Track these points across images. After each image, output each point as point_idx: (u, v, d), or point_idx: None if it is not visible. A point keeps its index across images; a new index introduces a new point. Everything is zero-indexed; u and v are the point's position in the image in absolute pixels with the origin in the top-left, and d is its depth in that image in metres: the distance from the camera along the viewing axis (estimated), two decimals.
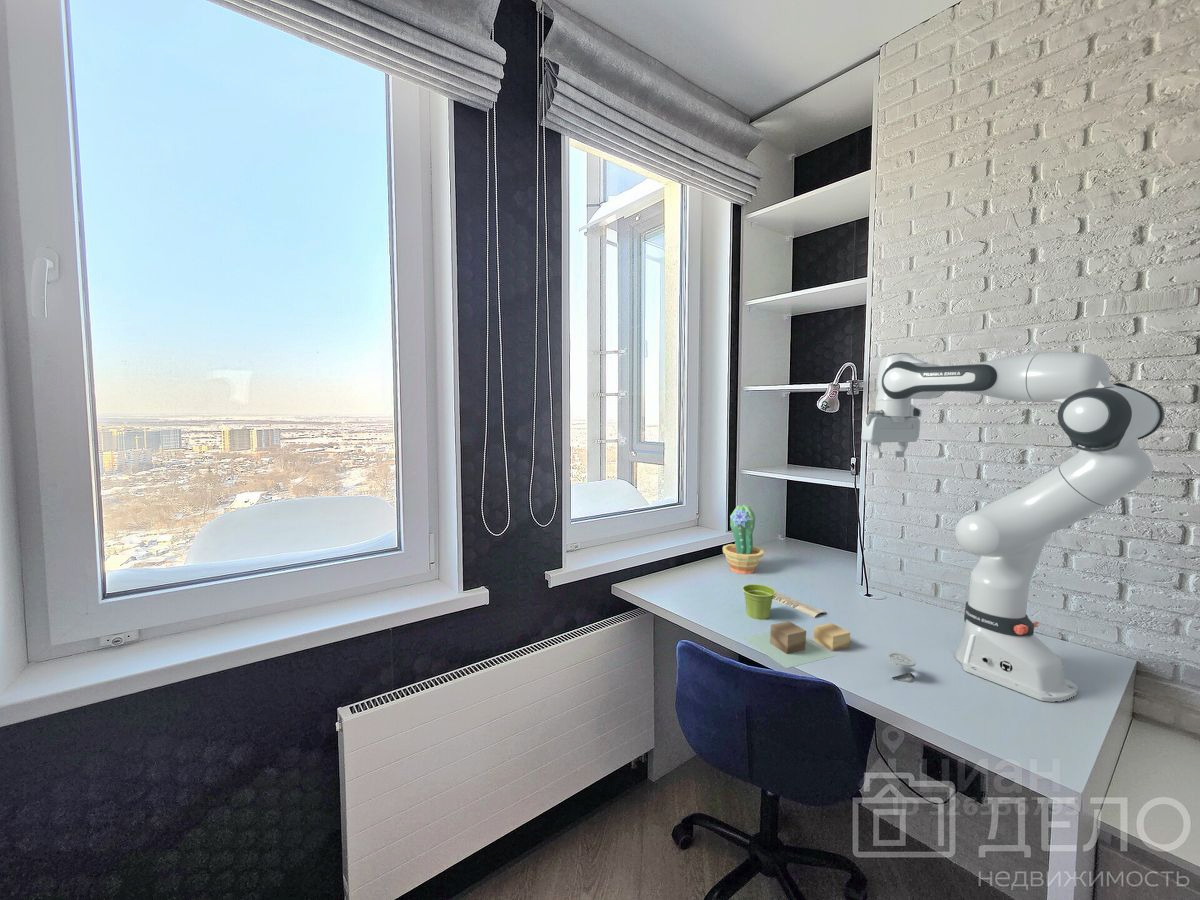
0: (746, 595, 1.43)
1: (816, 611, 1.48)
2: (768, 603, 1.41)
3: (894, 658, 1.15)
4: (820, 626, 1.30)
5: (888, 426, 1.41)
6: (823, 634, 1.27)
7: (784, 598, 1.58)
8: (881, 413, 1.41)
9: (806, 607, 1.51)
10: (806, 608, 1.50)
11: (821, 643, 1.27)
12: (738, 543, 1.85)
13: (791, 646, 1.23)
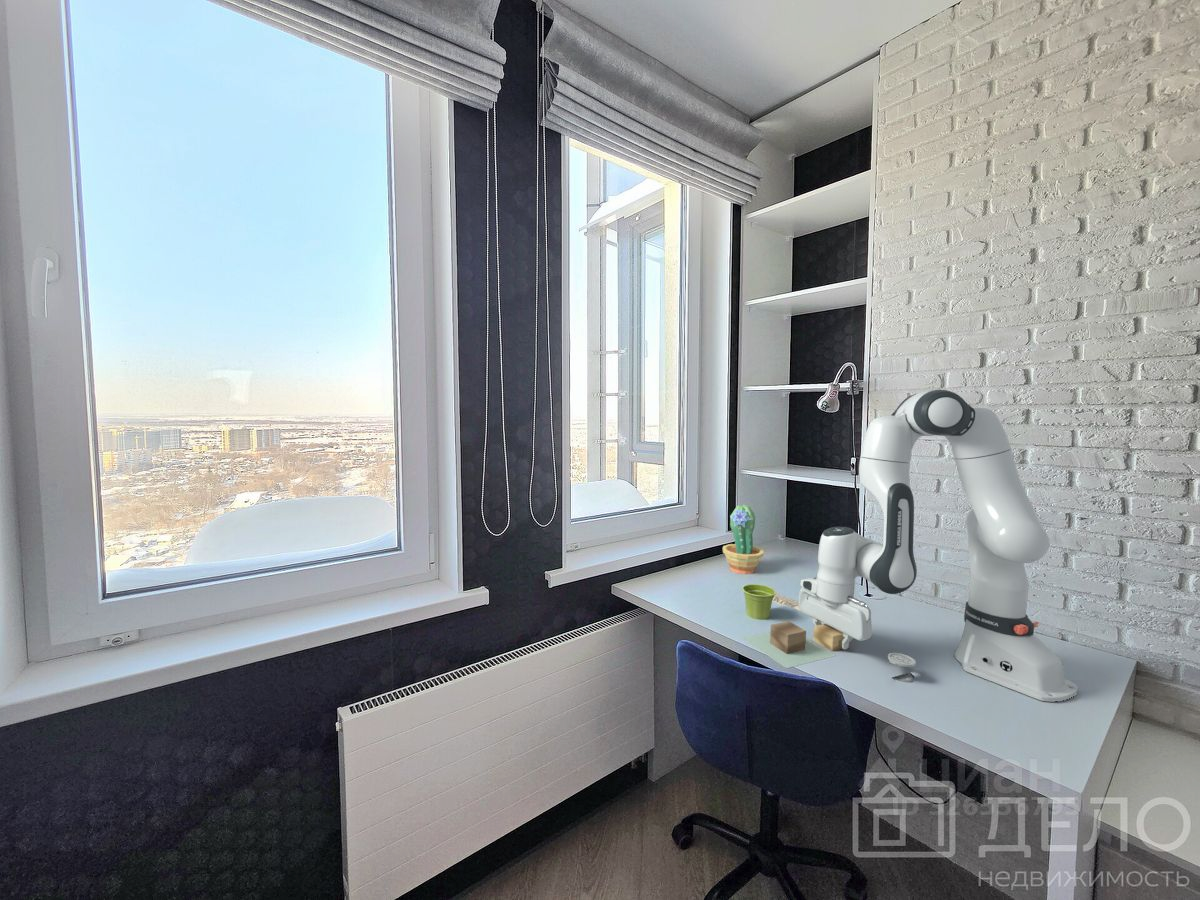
0: (746, 595, 1.43)
1: None
2: (768, 603, 1.41)
3: (894, 658, 1.15)
4: (820, 626, 1.30)
5: None
6: (823, 634, 1.27)
7: (782, 598, 1.58)
8: None
9: None
10: None
11: (821, 643, 1.28)
12: (738, 543, 1.85)
13: (791, 646, 1.23)
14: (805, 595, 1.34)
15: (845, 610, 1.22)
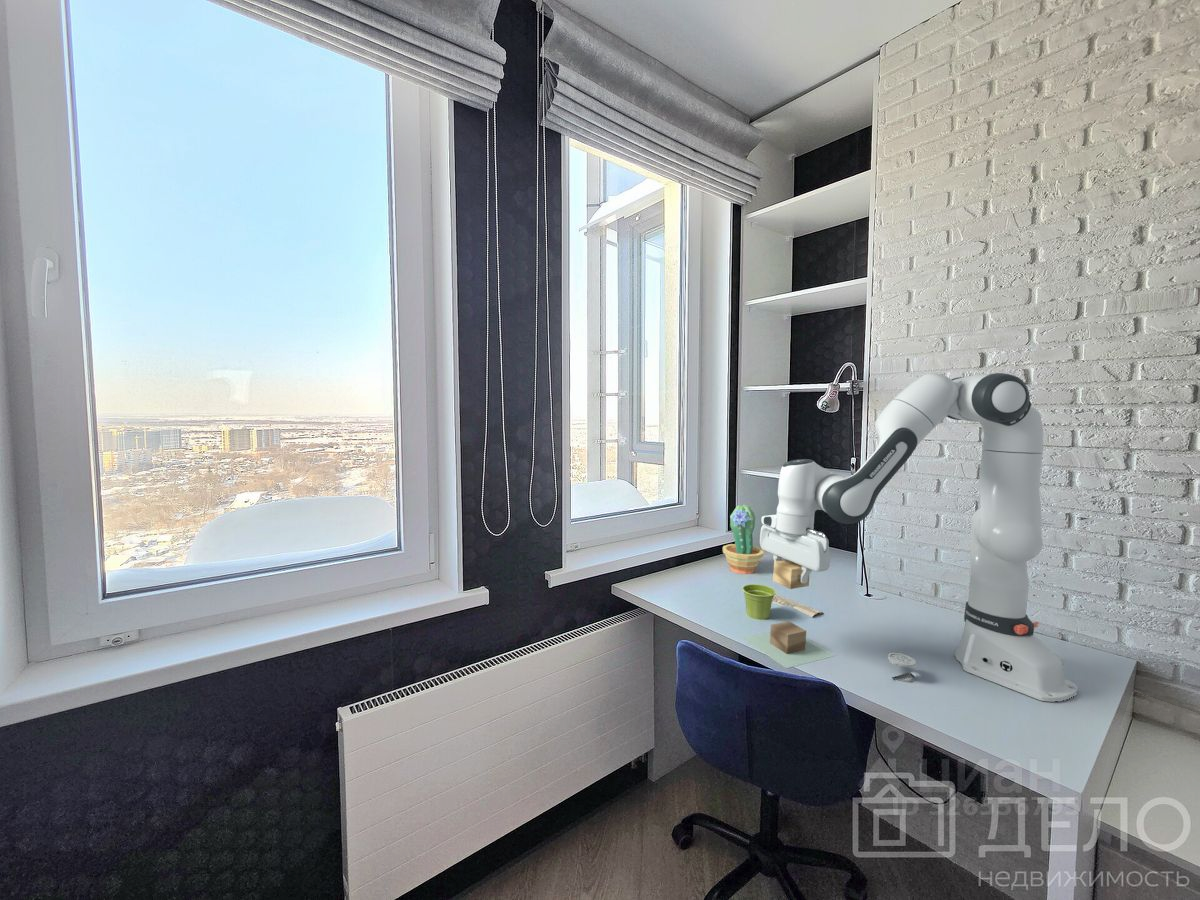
0: (746, 595, 1.43)
1: (813, 611, 1.48)
2: (767, 603, 1.41)
3: (894, 658, 1.15)
4: (780, 561, 1.26)
5: None
6: (782, 569, 1.23)
7: (780, 599, 1.57)
8: None
9: (803, 607, 1.51)
10: (802, 609, 1.50)
11: (780, 578, 1.24)
12: (738, 543, 1.85)
13: (791, 646, 1.23)
14: (765, 533, 1.30)
15: (803, 542, 1.18)
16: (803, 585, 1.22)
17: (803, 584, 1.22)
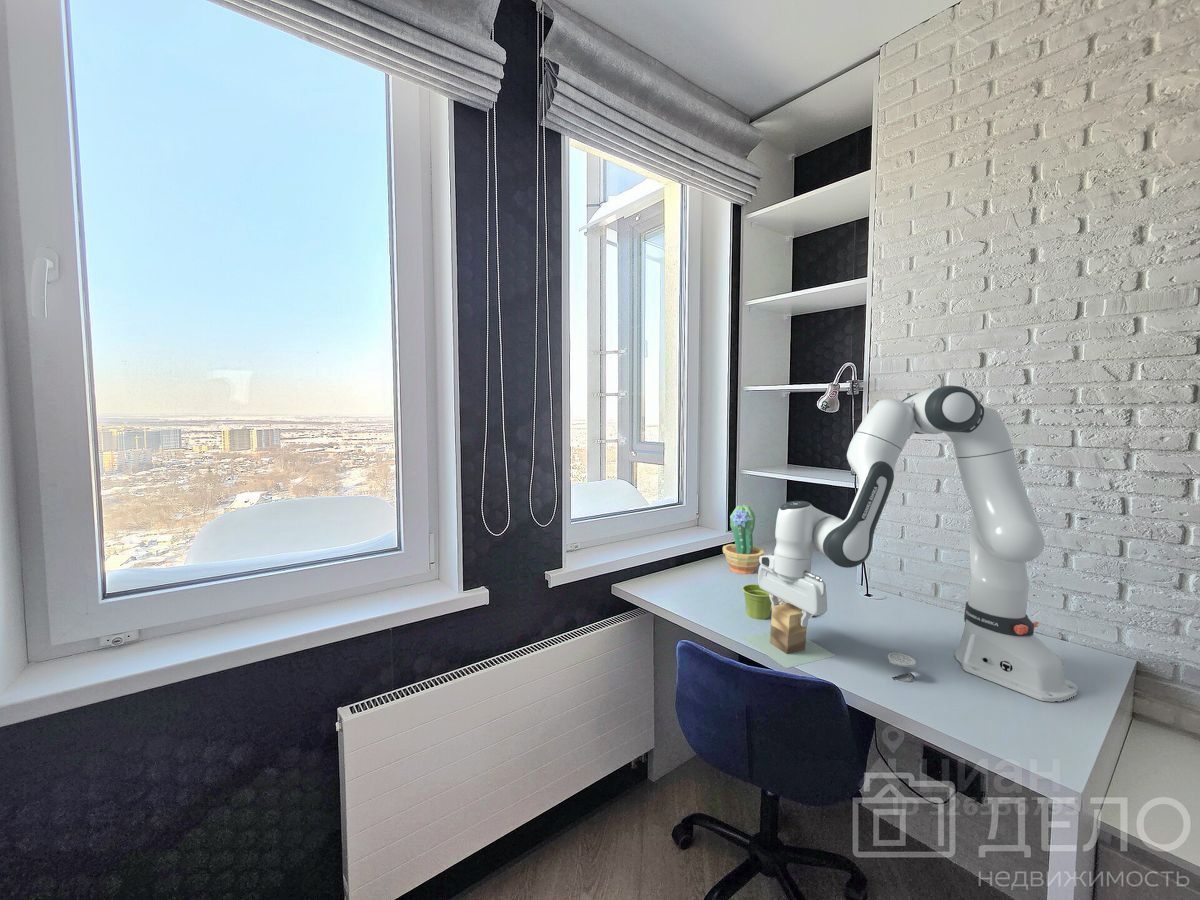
0: (746, 595, 1.43)
1: None
2: (767, 603, 1.41)
3: (894, 658, 1.15)
4: (778, 606, 1.27)
5: None
6: (780, 614, 1.24)
7: (779, 599, 1.57)
8: None
9: None
10: None
11: (778, 623, 1.25)
12: (738, 543, 1.85)
13: (791, 646, 1.23)
14: (763, 572, 1.31)
15: (800, 585, 1.19)
16: (801, 630, 1.24)
17: (801, 629, 1.24)
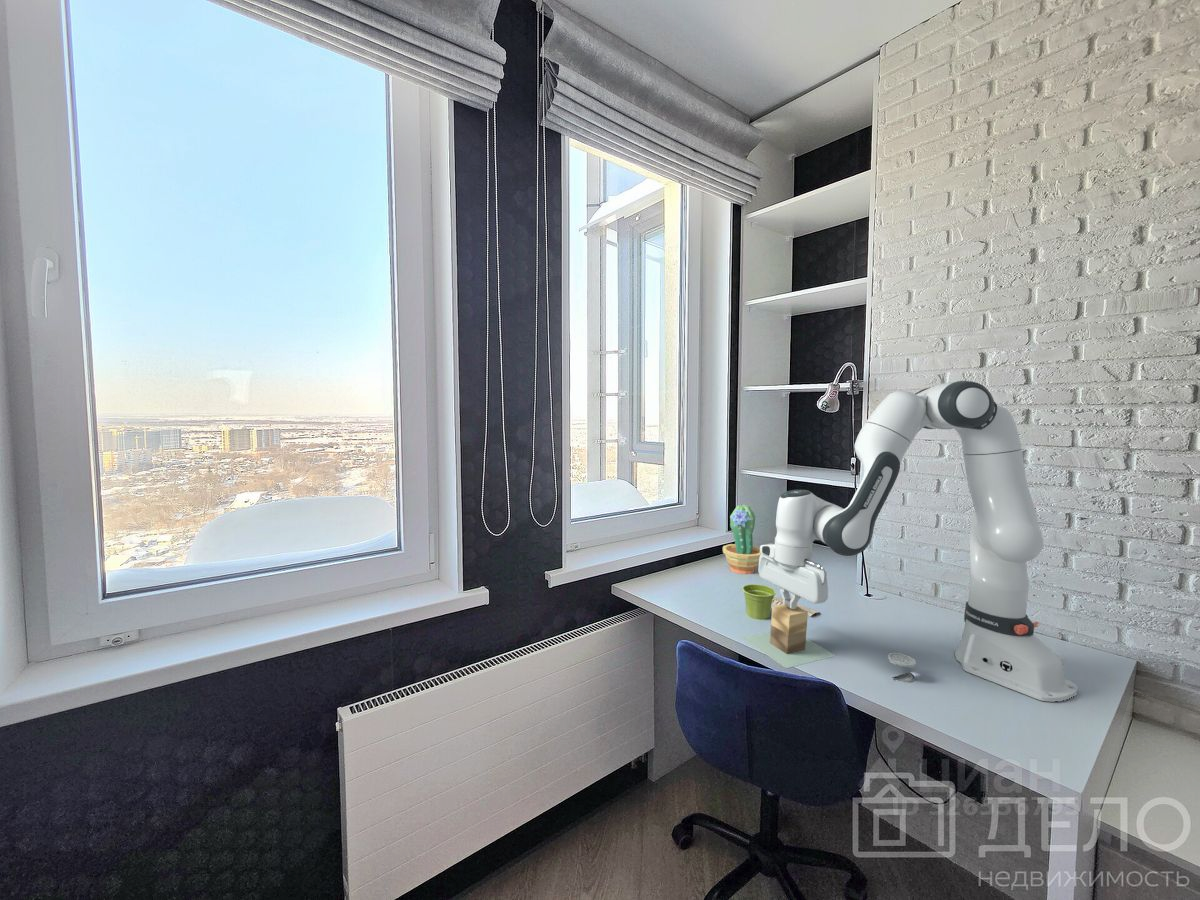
0: (746, 595, 1.43)
1: (810, 611, 1.48)
2: (768, 603, 1.41)
3: (894, 658, 1.16)
4: (778, 606, 1.27)
5: None
6: (780, 614, 1.24)
7: (777, 599, 1.57)
8: None
9: None
10: None
11: (778, 623, 1.25)
12: (738, 543, 1.85)
13: (791, 646, 1.23)
14: (764, 561, 1.31)
15: (801, 573, 1.19)
16: (801, 630, 1.24)
17: (801, 629, 1.24)
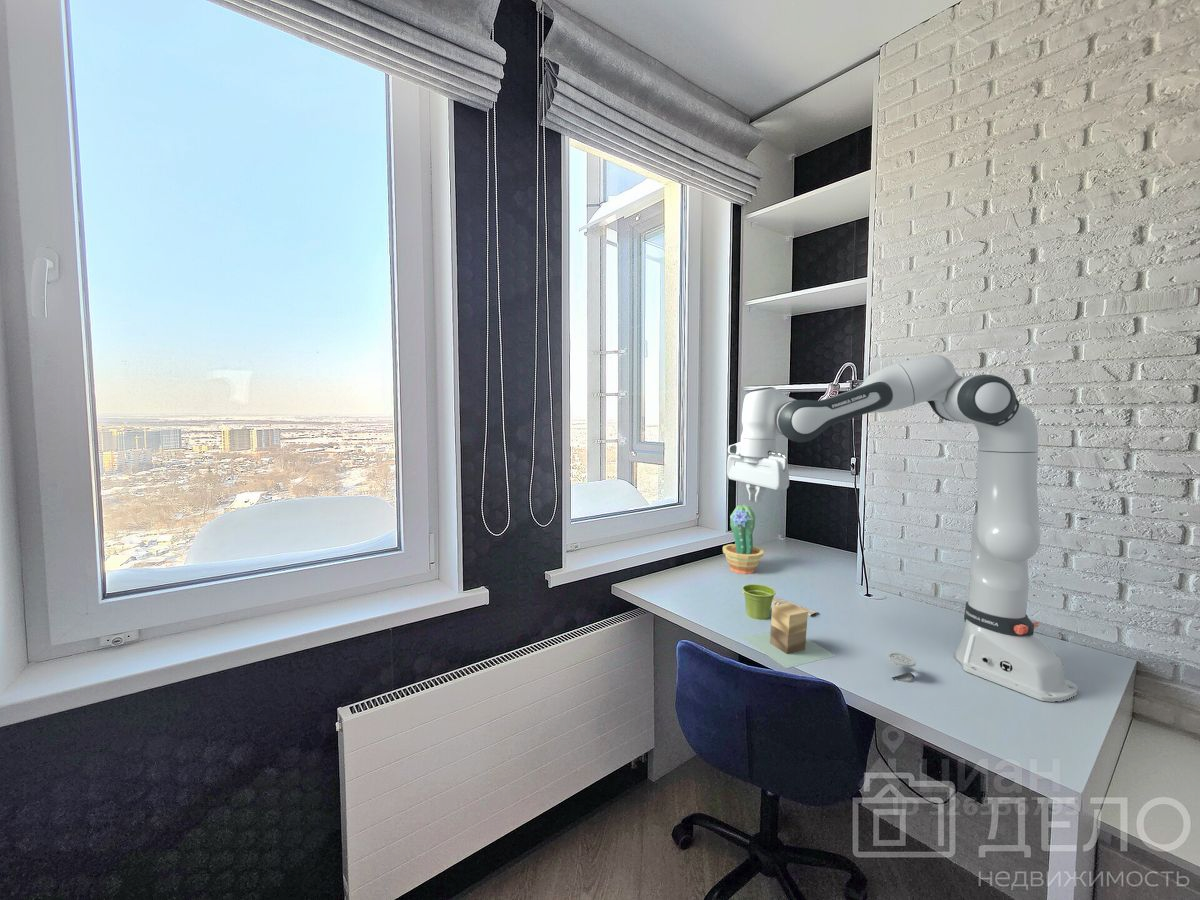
0: (746, 595, 1.43)
1: (809, 612, 1.48)
2: (767, 603, 1.41)
3: (894, 658, 1.16)
4: (778, 606, 1.27)
5: None
6: (780, 614, 1.24)
7: (775, 599, 1.57)
8: None
9: None
10: None
11: (778, 623, 1.25)
12: (738, 543, 1.85)
13: (791, 646, 1.23)
14: (732, 462, 1.36)
15: (764, 464, 1.24)
16: (801, 630, 1.24)
17: (801, 629, 1.24)
